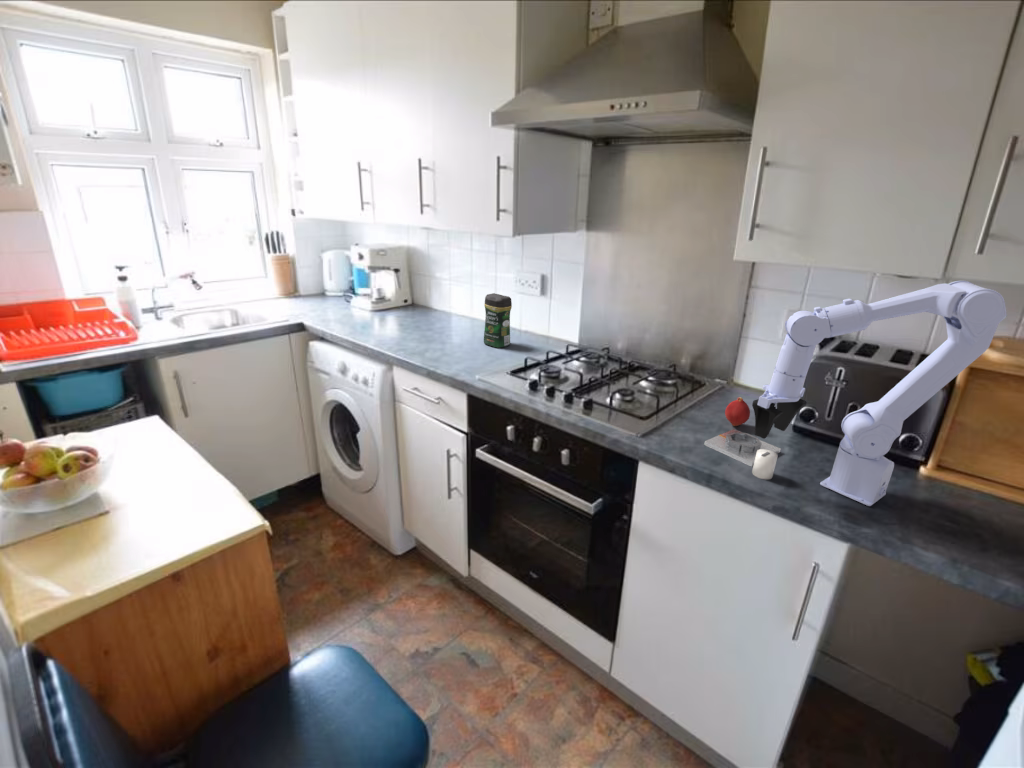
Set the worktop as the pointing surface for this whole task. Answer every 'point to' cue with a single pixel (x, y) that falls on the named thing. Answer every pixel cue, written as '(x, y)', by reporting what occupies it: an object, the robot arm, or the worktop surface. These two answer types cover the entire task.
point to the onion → (737, 412)
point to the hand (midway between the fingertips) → (770, 432)
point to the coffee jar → (497, 320)
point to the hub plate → (739, 446)
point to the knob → (764, 464)
